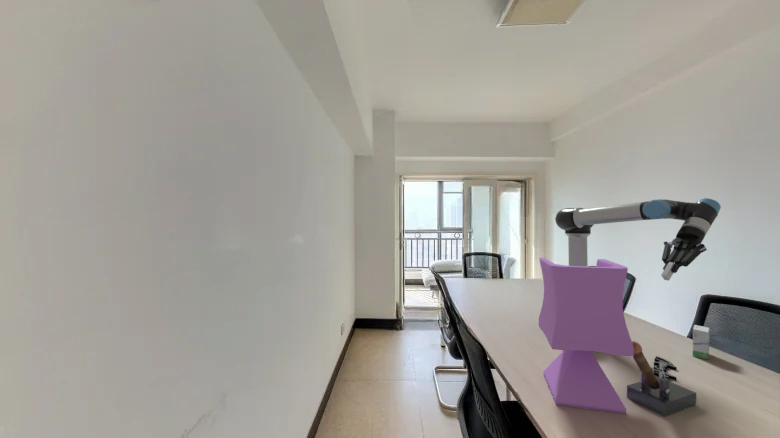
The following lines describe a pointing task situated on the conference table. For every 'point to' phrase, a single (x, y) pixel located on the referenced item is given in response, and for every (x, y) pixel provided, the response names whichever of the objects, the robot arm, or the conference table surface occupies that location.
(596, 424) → the conference table surface
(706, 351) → the ink box
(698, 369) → the conference table surface
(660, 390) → the press base
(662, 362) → the nameplate
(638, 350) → the lever
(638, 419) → the conference table surface
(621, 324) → the purple pedestal vase
